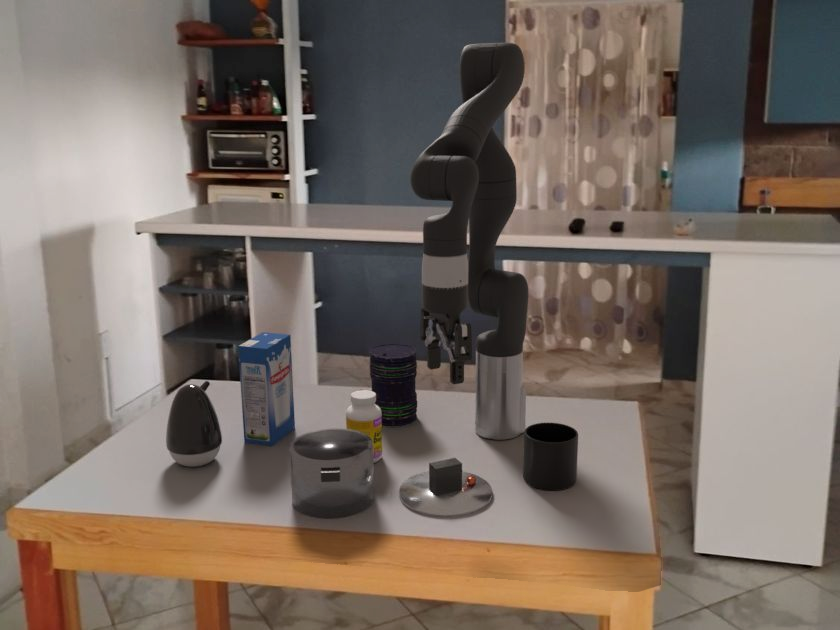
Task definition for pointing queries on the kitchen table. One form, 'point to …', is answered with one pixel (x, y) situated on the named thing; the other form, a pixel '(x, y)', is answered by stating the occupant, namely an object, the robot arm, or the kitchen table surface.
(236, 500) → the kitchen table surface
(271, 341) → the milk carton
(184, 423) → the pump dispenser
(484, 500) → the lid
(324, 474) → the pot
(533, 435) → the mug
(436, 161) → the robot arm
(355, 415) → the supplement bottle
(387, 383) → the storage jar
